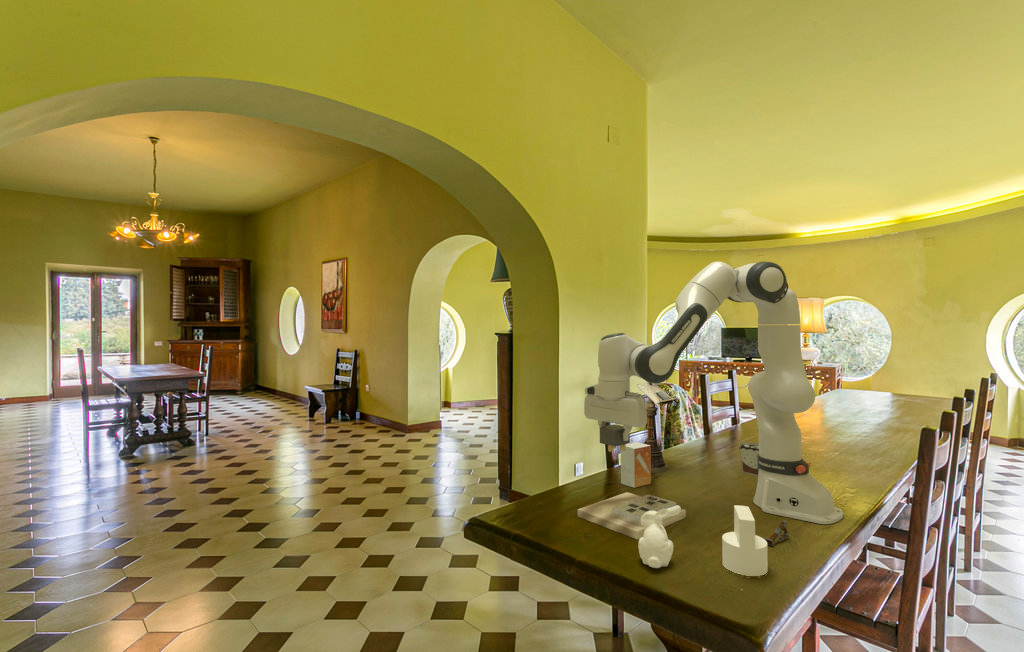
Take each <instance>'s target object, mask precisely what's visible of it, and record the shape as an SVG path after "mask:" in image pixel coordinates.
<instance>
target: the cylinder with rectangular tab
mask: <svg viewBox="0 0 1024 652" xmlns="http://www.w3.org/2000/svg"><path fill="white" fill-rule="evenodd" d="M733 523H734V524H733V527H734V528H733V529H734V531H729V532H726V533H723V534H722V537H721V542H722V545H721V547H722V548H721V551H722V552H721V553H722V558H721V559H722V566H724V567H725V568H726V569H728V570H730V571H732V572H734V573H737V574H741V575H746V576H760V575H764V574H766V573H767V572H768V571H769V570H768V568H769V567H768V563H769V562H768V558H769V557H768V544H767V542H766V540H765V539H764V538H763V537H761V536H759V535H757V534H756V520H755V518H754V515H753V513H752V511H751V509H750V507H749V506H746V505H733ZM724 567H723V568H724ZM725 568H724V569H725ZM726 569H725V570H726ZM728 570H727V571H728ZM734 573H733V574H734ZM767 574H768V573H767ZM767 574H766V575H767Z"/></svg>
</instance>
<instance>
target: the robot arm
mask: <svg viewBox="0 0 1024 652" xmlns="http://www.w3.org/2000/svg"><path fill="white" fill-rule="evenodd" d="M727 299H728V300H729V301H730V302H731V301H732V302H734V303H753V304H754V305H755V307H756V309H757V314H758V315H757V350H758V353H759V356H760V358H761V360H762V364H763V368H764V370H762V371H759V372H756V373H754V374H753V375H752V376H751V377H750V378H749V380H748V385H747V389H748V393H749V394H750V397H751V399H752V403H753V408H754V414H755V417H756V422H757V429H758V431H757V432H758V444H759V454H758V455H757V470H758V476H757V485H756V488H755V494H754V497H753V500H752V501H753V503H754V504H755V505H756V506H757V507H759V508H760V509H761V511H762V512H763V513H767V514H771V515H775V516H781V517H785V518H789V519H795V520H799V521H806V522H811V523H815V524H819V525H830V524H834V523H837V522H840V521H841V520H842V519H843V518H844V512H843V509H841V508H839V507H836V506H835V505H834V504H835V503H834V498H833V495H832V493H831V491H830V489H829V488H827V486H825V485H824V484H822V483H821V482H820V481H819V480H818V479H816V478H815V477H814V476H813V475H812V474H811V473H810V467H811V466H812V465H811V464H812V463H811V462H810V461H809V462H808V463H807V462H806V461H805V460H804V459H803V458H802V432H801V429H800V427H799V424H798V423H797V419H796V417H795V414H799V413H805V412H807V411H809V409H811V408H812V407H813V405H814V403H815V400H816V392H815V391H816V390H815V388H814V386H812V383H810V381H809V379H808V376H807V372H806V368H805V364H804V360H803V355H802V347H801V346H802V344H801V343H802V342H801V341H802V340H801V339H802V338H801V311H800V306H799V300H798V296H797V293H796V292H795V291H794V290H792V289H790V288H789V284H788V279H787V275H786V273H785V271H784V270H783V268H782V267H781V265H779V264H777V263H775V262H772V261H759V262H752V263H747V264H744V265H742V266H739V267H734V268H733V267H732V266H731V265H729V264H728V263H726V262H724V261H718V260H717V261H713V262H710V263H709V264H708V265H706V266H705V267H704V268H702V269H701V270H700V271H699V272H697V273H696V274H695V275H694V276H693V277H692V278H691V279H690V280H689V282H687V284H685V286H684V287H683V288H682V289H681V291H680V293H679V294H678V296H677V297H676V300H675V304H674V305H675V310H676V312H677V313H678V316H677V318H676V320H675V321H674V323H673V324H672V325H671V327H670V328H669V329H668V330H667V332H666V333H665V334H664V335H663V337H662V338H661V339H660V340H658V341H657V342H655V343H653V344H651V345H650V344H646V343H643V342H641V341H637V340H636V339H634V338H632V337H631V336H629V335H628V334H627V333H624V332H617V333H611V334H608V335H604V336H602V338H601V339H600V340H599V344H598V350H597V351H598V353H597V354H598V355H597V359H598V361H597V363H598V368H599V376H598V378H597V379H598V382H597V383H595V384H593V385H590V386H586V387H585V388H584V394H585V397H584V401H583V403H584V405H583V407H584V408H583V412H584V416H585V418H586V419H589V420H593V421H594V420H595V421H597V425H598V427H599V428H600V427H604V426H606V424H607V423H611V424H615V425H620V426H623V428H624V429H625V431H624V433H623V434H621V440H623V441H628V440H629V433H631V431H632V430H633V428H643V427H645V426H646V425H648V418H647V413H646V407H645V406H646V405H645V404H646V399H645V397H644V396H643V394H641V393H640V392H632V391H631V389H630V388H631V380H630V379H631V377H635V376H636V377H637V378H640V379H642V380H643V381H645V382H646V381H647V382H650V384H652V383H656V384H657V383H658V384H661V383H664V382H665V381H667V380H669V379H670V378H671V377H672V375H673V373H674V372H675V369H676V366H677V362H678V360H679V358H680V356H681V355H682V353H683V352H684V350H685V349H686V348H687V347H688V346H689V344H690V342H692V340H693V339H694V338H695V337H696V335H697V334H698V333H699V332H700V330H701V329H702V327H703V325H705V323H706V322H707V321H708V320H709V319H710V318H711V316H713V314H715V313H716V311H717V310H718V309H719V308H720V307H721V306H722V305H723V303H724V301H725V300H727Z"/></svg>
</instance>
